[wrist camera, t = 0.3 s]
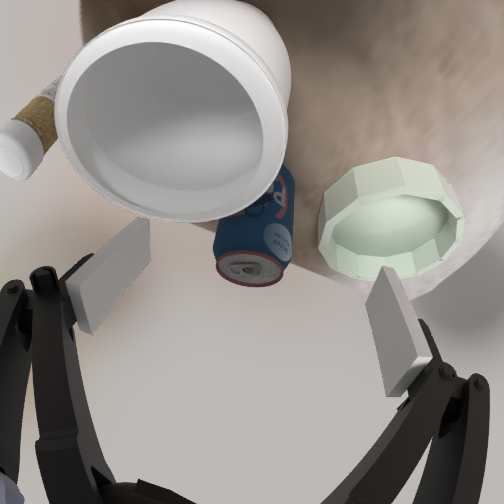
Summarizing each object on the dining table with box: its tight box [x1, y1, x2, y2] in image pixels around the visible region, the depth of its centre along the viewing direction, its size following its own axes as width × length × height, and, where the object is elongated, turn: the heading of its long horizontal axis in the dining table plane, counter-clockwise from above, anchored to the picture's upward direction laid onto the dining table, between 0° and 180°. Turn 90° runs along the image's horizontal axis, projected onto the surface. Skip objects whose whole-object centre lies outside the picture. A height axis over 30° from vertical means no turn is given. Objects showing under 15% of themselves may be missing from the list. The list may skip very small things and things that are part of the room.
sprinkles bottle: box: [0, 76, 62, 181], centre depth 17 cm, size 5×5×14 cm
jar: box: [54, 0, 291, 223], centre depth 14 cm, size 11×10×15 cm
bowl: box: [318, 157, 465, 281], centre depth 31 cm, size 18×18×4 cm
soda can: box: [213, 165, 295, 287], centre depth 27 cm, size 7×7×12 cm
